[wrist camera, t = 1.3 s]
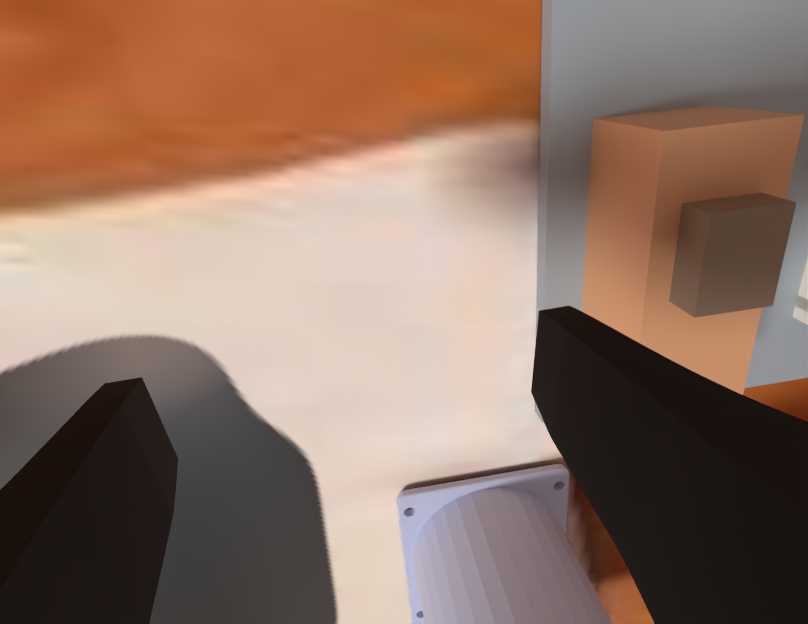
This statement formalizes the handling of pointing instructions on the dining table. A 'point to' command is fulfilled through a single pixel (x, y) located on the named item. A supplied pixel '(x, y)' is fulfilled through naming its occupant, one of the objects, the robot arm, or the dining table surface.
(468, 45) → the dining table surface
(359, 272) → the dining table surface
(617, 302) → the wooden block
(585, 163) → the jig
